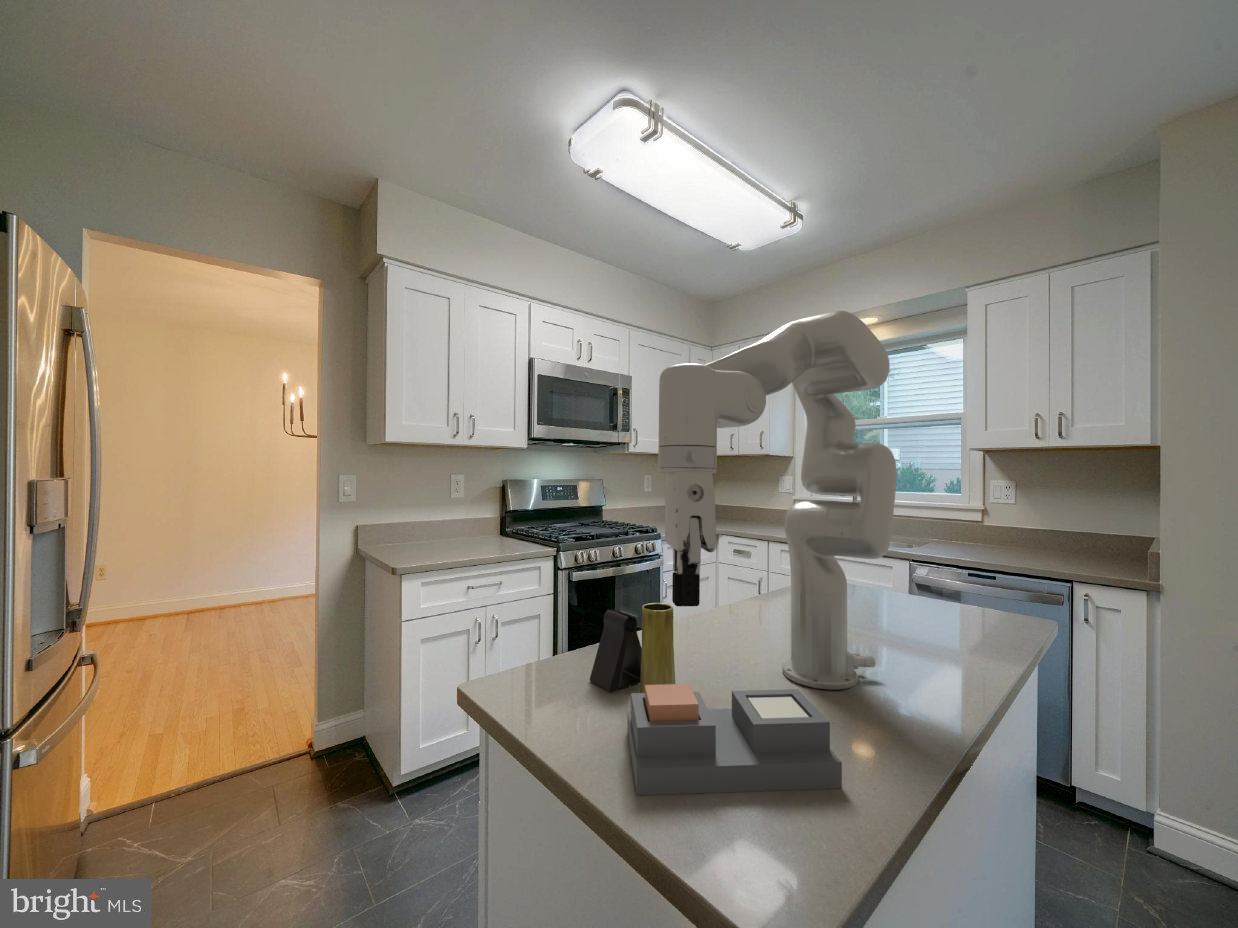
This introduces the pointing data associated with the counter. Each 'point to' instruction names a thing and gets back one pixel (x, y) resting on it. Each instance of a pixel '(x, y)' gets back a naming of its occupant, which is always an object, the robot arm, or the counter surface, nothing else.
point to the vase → (657, 645)
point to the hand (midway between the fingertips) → (685, 604)
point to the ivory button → (777, 707)
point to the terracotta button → (670, 703)
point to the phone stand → (617, 653)
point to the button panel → (732, 749)
